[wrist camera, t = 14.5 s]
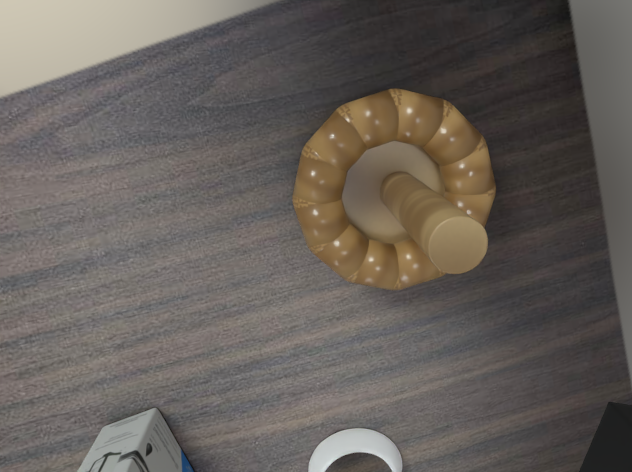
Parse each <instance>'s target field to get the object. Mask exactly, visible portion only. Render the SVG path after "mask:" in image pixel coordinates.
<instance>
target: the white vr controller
mask: <svg viewBox="0 0 632 472" xmlns="http://www.w3.org/2000/svg"><path fill="white" fill-rule="evenodd" d="M356 452H365V453H370V454H374V455H376V456H378V457H380V458H382V459H383V460H384V461H385V462H386V463H387V464H388V465H389V467H390V468H391V470H392V472H402V467H403V466H402V458H401V455H400V452H399V450H398V448H397V447H396V445H395V444H394V443H393V442H392V441H391V440H390V439H389V438H388V437H386V436H385V435H383V434H382V433H379V432H377V431H374V430H370V429H365V428H353V429H346V430H343V431H339V432H337V433H335V434H333V435H331V436H329V437H327V438H326V439H325V440H323V441H322V442H321V443H320V444H319V445H318V446H317V447H316V449H315V450H314V452H313V454H312V456H311V459H310V462H309V469H308V472H325V471H326V469H327V468H328V467H329V465H330V464H331V463H332V462H334V461H335V460H336V459H338V458H340V457H342V456H344V455H347V454H350V453H356Z"/></svg>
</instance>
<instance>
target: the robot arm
mask: <svg viewBox="0 0 632 472" xmlns="http://www.w3.org/2000/svg"><path fill="white" fill-rule="evenodd" d="M579 472H632V405H626V404H620V403H614V402H609V403H608V405H607V408H606V410H605V412H604V415H603V417H602V419H601V422H600V424H599V426H598V429H597V431H596V433H595V436H594V438H593V440H592V443H591V445H590V447H589V450H588V452H587V454H586V457H585V459H584V461H583V464H582V466H581V468H580V471H579Z"/></svg>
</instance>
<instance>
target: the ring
mask: <svg viewBox="0 0 632 472" xmlns="http://www.w3.org/2000/svg"><path fill="white" fill-rule="evenodd" d="M392 141H397V142H402V143H406V144H411V145H415V146H420V147H421V148H422V149H423V150H424V151H426V152H427V153H428V154H429V155H430V156H431V157H432V158H433V159H434V160H435V161H436V162H437V163H438V164H439V167H440V171H441V175H442V179H443V183H444V187H445V193H444V196H443V197H444V198H445V199H447V200H448V201H449V202H451V203H452V204H454V205H455V206H457V207H458V208H459V209H461V210H462V211H464V212H465V213H467V214H468V215H469V216H471V217H472V218H474V219H475V220H476V221H478V222H479V223H480V224H481V225H482V226H483V228H484V229H485V226H486V223H487V219H488V216H489V213H490V210H491V207H492V204H493V201H494V197H495V194H496V184H495V180H494V175H493V171H492V166H491V161H490V157H489V152H488V148H487V143H486V141H485V139H484V137H483V136H482V135H481V133H480V132H479V131H478V130H477V129H476V128H475V127H474V126H473V125H472V124H471V123H470V122H469V121H468V120H467V119H466V118H465V117H464V116H463V115H462V114H461V113H460V112H459V111H458V110H457V109H456V108H455V107H454V106H453V105H452V104H451V103H450V102H448V101H446V100H444V99H441V98H437V97H433V96H428V95H424V94H420V93H415V92H411V91H407V90H402V89H397V88H394V89H388V90H384V91H381V92H378V93H375V94H372V95H369V96H366V97H363V98H360V99H357V100H354V101H351V102H348V103H346V104H343V105H341V106H340V107H338V108H337V109H336V110H335V111H334V112H333V113H332V115H331V116H330V117H329V118H328V119H327V120H326V121H325V123H324V124H323V125H322V126H321V127H320V128H319V129H318V130H317V132H316V133H315V134H314V135H313V136H312V137H311V138H310V139H309V141H308V142H307V143H306V144H305V146H304V148H303V150H302V153H301V157H300V162H299V167H298V171H297V176H296V181H295V186H294V191H293V197H292V200H293V206H294V209H295V212H296V215H297V218H298V221H299V223H300V226H301V229H302V232H303V235H304V238H305V241H306V244H307V246H308V248H309V249H310V251H311V252H312V253H313V254H314V255H316V256H317V257H318V258H319V259H320V260H322V261H323V262H324V263H325V264H326V265H327V266H329V267H330V268H331V269H332V270H333V271H335V272H336V273H337V274H338V275H339V276H340V277H342V278H343V279H344V280H346V281H348V282H351V283H355V284H361V285H366V286H371V287H377V288H382V289H388V290H401V289H404V288H407V287H411V286H414V285H417V284H420V283H423V282H427V281H430V280H433V279H436V278H439V277H441V276H444V275H445V274H446V272H443V271H441V270H439V269H438V268H437V267H436V266H435V265H434V264H433V263H432V262H431V261H430V259H429V258H428V257H427V256H426V254H425V253H424V252H423V251H422V250H421V248H420V247H419V246H418V245H417V244H416V242H415V241H414V240H413V239H412V238H409V239H406V240H403V241H400V242H397V243H393V244H392V243H387V242H382V241H377V240H371V239H367V238H366V237H365V236H364V235H363V234H362V233H361V232H359V231H358V230H357V229H356V228H355V227H354V226H353V225H352V224H350V223H349V220H348V217H347V214H346V211H345V208H344V204H343V201H342V193H343V189H344V185H345V180H346V176H347V172H348V170H349V169H350V168H351V167H352V166H353V165H354V164H355V162H356V161H357V160H358V159H359V158H360V157H361V156H362V155H363V154H364V153H365V152H366V151H367V150H368V149H371V148H374V147H377V146H380V145H383V144H386V143H389V142H392Z"/></svg>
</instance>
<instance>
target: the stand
mask: <svg viewBox="0 0 632 472" xmlns="http://www.w3.org/2000/svg"><path fill="white" fill-rule="evenodd" d="M444 193H445V187H444V183H443V179H442V175H441V171H440V167H439V164H438V163H437V162H436V161H435V160H434V159H433V158H432V157H431V156H430V155H429V154H428V153H427V152H426V151H424V150H423V149H422V148H421V147H420V146H415V145H411V144H406V143H402V142H397V141H392V142H389V143H386V144H383V145H380V146H377V147H374V148H371V149H368V150H367V151H366V152H365V153H364V154H363V155H362V156H361V157H360V158H359V159H358V160H357V161H356V162H355V164H354V165H353V166H352V167H351V168H350V169H349V170H348V172H347V176H346V180H345V185H344V189H343V193H342V201H343V204H344V208H345V211H346V214H347V217H348V220H349V223H350V224H352V225H353V226H354V227H355V228H356V229H357V230H358V231H359V232H361V233H362V234H363V235H364V236H365V237H366V238H367V239H371V240H377V241H382V242H387V243H392V244H393V243H397V242H400V241H403V240H406V239H409V238H412V239H413V240H414V241H415V242H416V244H417V245H418V246H419V247H420V248H421V250H422V251H423V252H424V253H425V254H426V256H427V257H428V258H429V259H430V261H431V262H432V263H433V264H434V265H435V266H436V267H437V268H438V269H439V270H441V271H443V272H446V273H450V274H461V273H465V272H468V271H470V270H472V269H473V268H475V267H476V266H477V265H478V264H479V263H480V262H481V261H482V259H483V258H484V256H485V254H486V251H487V247H488V238H487V234H486V231H485V229H484V228H483V226H482V225H481V224H480V223H479V222H478V221H476V220H475V219H474V218H472V217H471V216H469V215H468V214H467V213H465V212H464V211H462V210H461V209H459V208H458V207H457V206H455V205H454V204H452V203H451V202H449V201H448V200H447V199H445V198H444V197H443V196H444Z"/></svg>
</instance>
